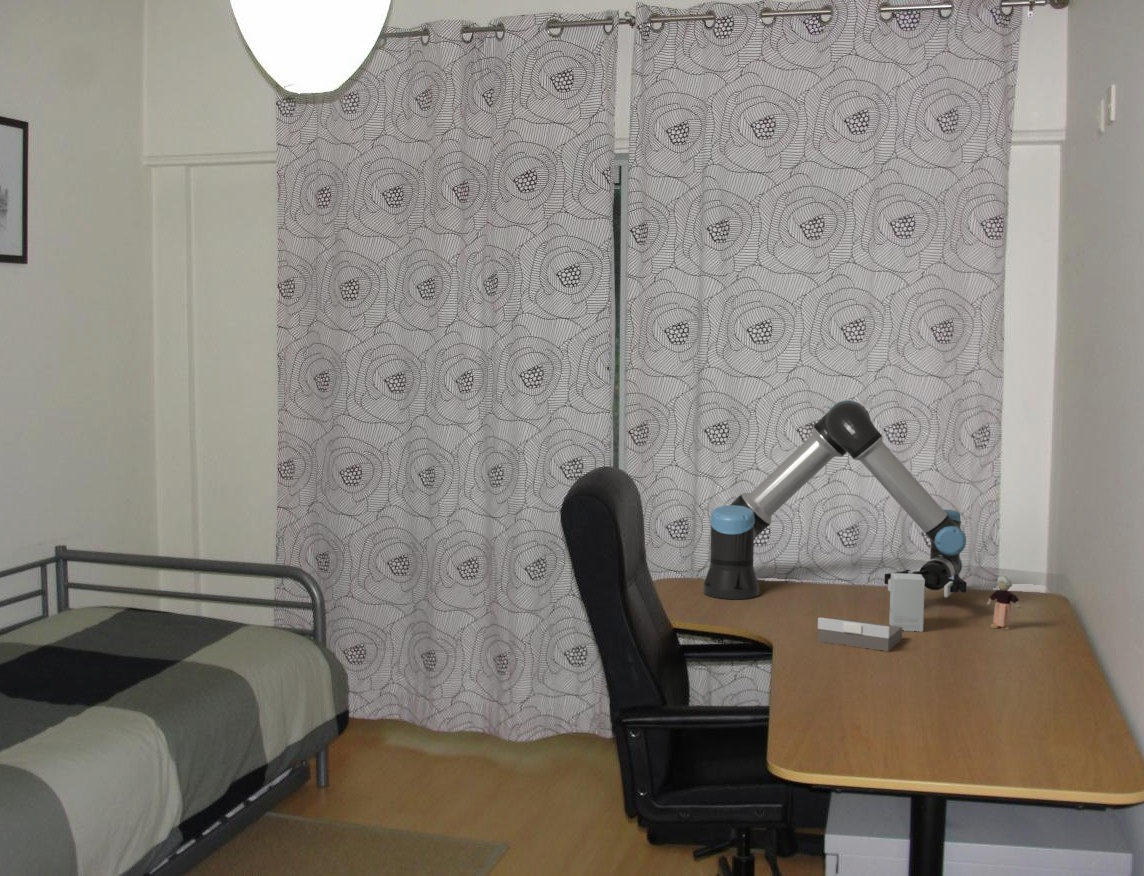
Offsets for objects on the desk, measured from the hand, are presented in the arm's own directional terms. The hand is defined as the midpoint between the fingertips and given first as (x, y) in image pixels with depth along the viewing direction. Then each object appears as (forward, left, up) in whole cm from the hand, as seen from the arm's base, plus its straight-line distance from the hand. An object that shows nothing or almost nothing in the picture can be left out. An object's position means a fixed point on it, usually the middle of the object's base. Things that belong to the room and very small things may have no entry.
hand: (917, 588), depth 269 cm
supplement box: (0, -10, -8) cm, 13 cm away
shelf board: (-6, -28, -8) cm, 29 cm away
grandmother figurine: (+20, +2, -8) cm, 22 cm away
